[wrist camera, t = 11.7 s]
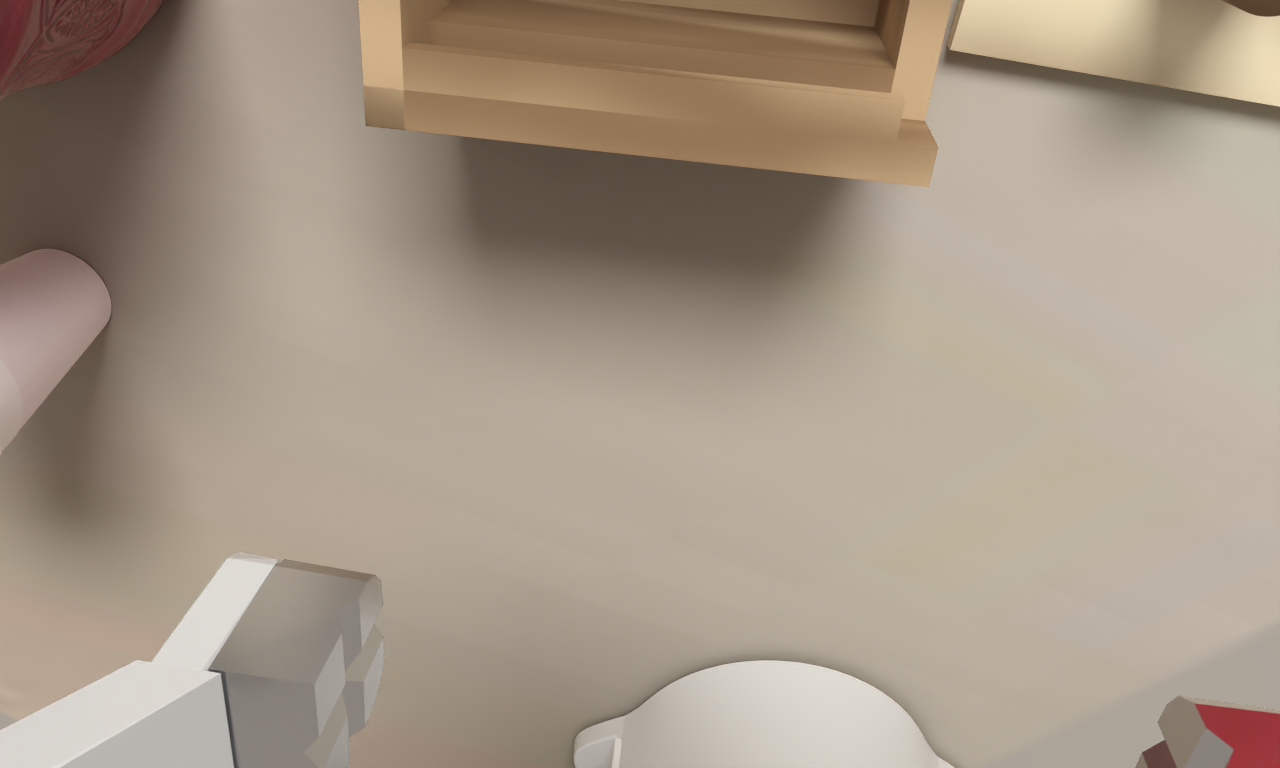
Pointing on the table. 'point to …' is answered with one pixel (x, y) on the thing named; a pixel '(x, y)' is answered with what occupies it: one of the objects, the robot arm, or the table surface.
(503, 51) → the lid box
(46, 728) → the robot arm
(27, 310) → the smoothie
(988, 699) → the table surface
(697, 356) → the table surface
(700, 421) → the table surface
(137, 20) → the canister
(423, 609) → the table surface
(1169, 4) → the lid
